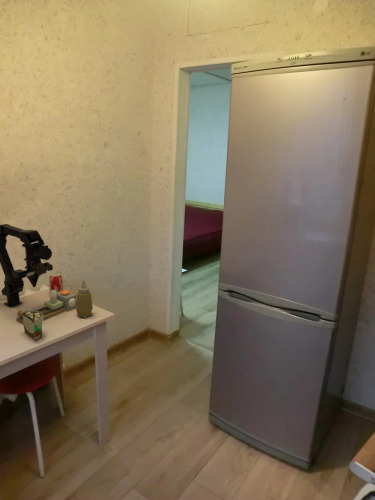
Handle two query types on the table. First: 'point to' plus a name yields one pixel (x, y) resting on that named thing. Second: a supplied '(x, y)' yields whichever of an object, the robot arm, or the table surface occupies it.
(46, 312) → the slide rail
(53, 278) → the soda can
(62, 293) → the brown rounded piece
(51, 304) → the carriage
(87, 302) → the squeeze bottle
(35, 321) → the food container
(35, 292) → the table surface
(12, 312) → the table surface
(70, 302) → the cabinet
